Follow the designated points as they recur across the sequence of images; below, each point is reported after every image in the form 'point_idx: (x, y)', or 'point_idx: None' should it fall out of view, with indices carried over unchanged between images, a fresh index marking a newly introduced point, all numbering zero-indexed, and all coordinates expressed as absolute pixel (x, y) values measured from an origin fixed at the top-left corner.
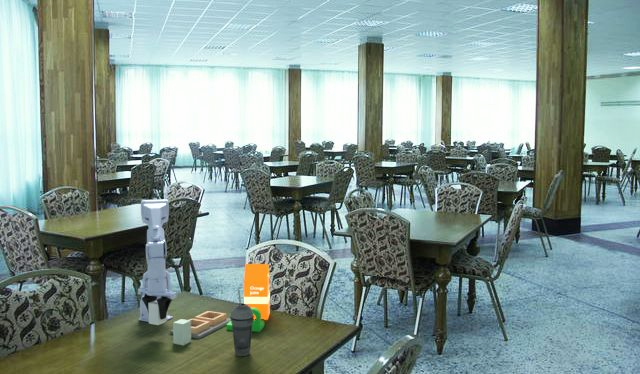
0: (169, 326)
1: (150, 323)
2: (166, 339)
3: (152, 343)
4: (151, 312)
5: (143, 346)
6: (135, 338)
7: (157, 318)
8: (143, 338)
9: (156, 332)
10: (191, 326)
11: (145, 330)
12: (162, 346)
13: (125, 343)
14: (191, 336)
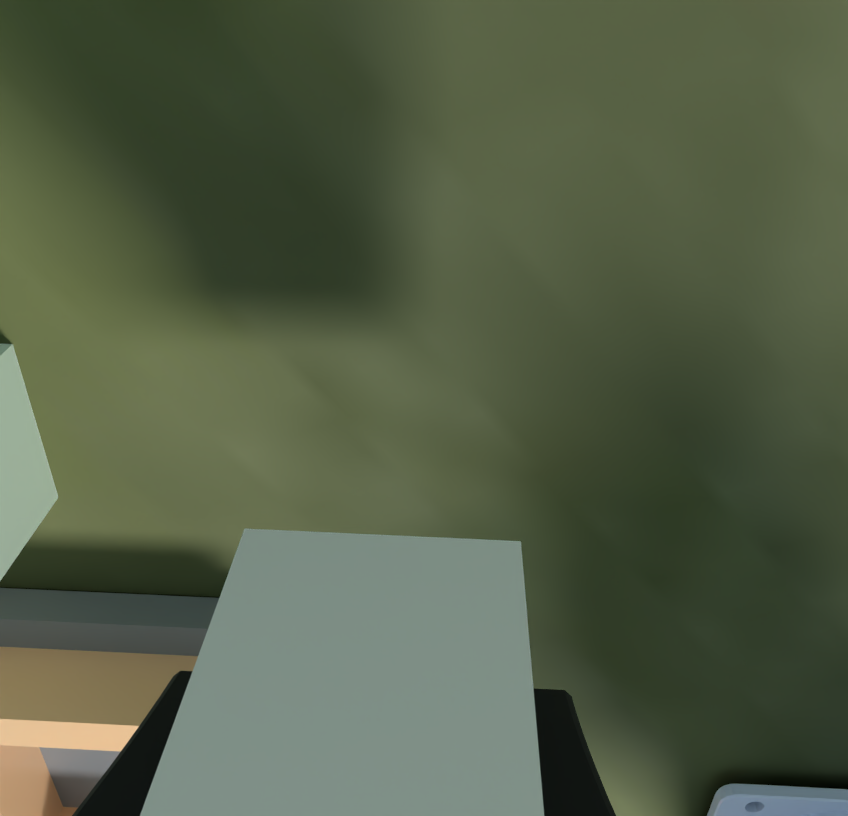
0: None
1: (473, 544)
2: (245, 436)
3: (307, 219)
4: (420, 795)
5: (342, 15)
6: (751, 302)
7: (229, 652)
8: (614, 349)
9: (577, 588)
10: (31, 744)
11: (780, 599)
12: (40, 167)
13: (805, 3)
14: (6, 598)
